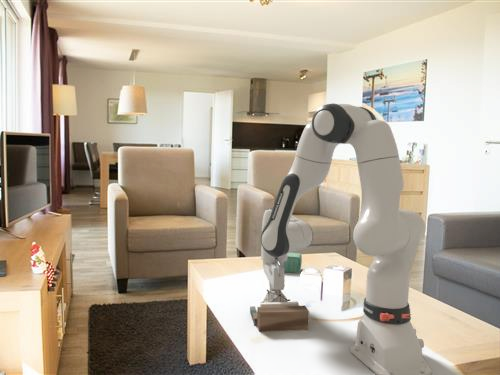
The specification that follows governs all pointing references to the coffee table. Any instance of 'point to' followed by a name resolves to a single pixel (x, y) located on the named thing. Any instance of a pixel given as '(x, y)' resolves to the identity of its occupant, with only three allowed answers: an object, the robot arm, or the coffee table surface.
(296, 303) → the pad
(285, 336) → the coffee table surface
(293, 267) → the box
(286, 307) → the brown piece
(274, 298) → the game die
